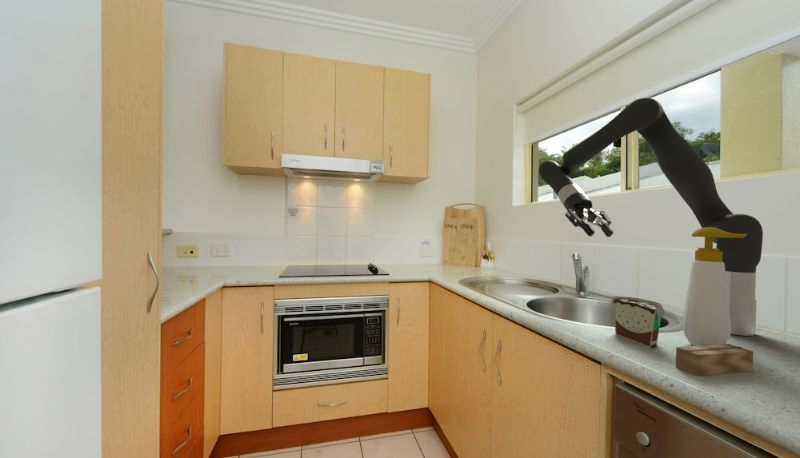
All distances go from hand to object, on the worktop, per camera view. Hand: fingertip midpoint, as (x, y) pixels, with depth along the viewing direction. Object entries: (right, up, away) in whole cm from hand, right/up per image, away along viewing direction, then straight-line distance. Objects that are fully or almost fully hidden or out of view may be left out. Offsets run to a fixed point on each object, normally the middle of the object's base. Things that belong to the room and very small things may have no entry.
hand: (601, 234), depth 96 cm
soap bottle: (+12, -27, -22) cm, 37 cm away
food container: (-1, -27, -18) cm, 32 cm away
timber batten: (+1, -27, -33) cm, 43 cm away
